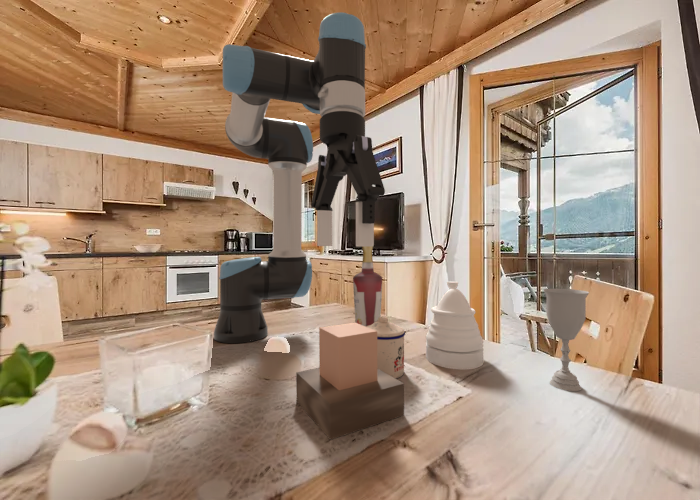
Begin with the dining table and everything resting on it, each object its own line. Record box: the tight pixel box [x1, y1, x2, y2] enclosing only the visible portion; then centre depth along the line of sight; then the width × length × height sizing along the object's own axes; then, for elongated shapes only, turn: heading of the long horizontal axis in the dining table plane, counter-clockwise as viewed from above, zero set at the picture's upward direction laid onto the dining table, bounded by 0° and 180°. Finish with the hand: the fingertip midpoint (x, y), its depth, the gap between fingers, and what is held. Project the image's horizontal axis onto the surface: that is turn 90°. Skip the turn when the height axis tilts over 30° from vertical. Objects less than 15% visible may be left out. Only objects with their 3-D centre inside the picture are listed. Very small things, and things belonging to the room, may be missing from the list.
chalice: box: [543, 288, 590, 392], centre depth 62 cm, size 7×7×18 cm
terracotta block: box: [318, 322, 377, 390], centre depth 54 cm, size 7×7×8 cm
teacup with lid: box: [366, 316, 406, 379], centre depth 70 cm, size 12×9×12 cm
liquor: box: [352, 246, 383, 327], centre depth 81 cm, size 7×7×28 cm
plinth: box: [295, 367, 405, 440], centre depth 54 cm, size 13×13×5 cm
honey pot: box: [425, 281, 484, 370], centre depth 77 cm, size 13×13×18 cm
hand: (342, 246), depth 54 cm, fingers open, 13 cm apart
